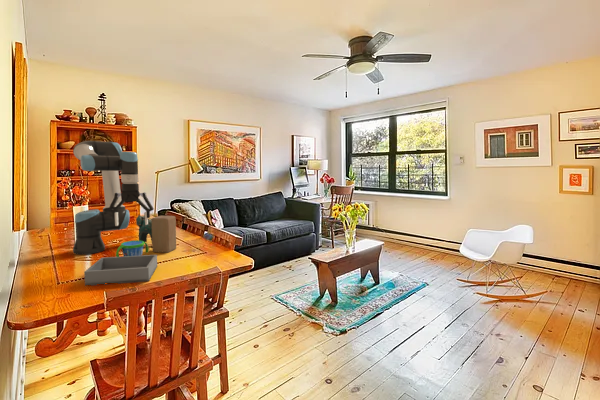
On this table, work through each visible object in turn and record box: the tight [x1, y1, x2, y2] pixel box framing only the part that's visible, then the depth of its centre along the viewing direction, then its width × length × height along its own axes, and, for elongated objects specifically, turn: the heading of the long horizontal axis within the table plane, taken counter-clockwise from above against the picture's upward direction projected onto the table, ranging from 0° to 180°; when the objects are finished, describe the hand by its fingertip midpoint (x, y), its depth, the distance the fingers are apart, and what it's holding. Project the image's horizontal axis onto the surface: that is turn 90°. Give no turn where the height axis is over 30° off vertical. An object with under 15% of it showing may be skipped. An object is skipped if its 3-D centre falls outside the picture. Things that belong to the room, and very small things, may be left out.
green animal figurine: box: [135, 212, 152, 243], centre depth 195 cm, size 20×6×20 cm, turn 55°
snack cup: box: [115, 239, 150, 257], centre depth 158 cm, size 16×10×10 cm
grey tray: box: [83, 254, 158, 287], centre depth 139 cm, size 24×20×6 cm
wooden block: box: [150, 215, 177, 254], centre depth 179 cm, size 10×10×20 cm
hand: (131, 225), depth 156 cm, fingers open, 13 cm apart
